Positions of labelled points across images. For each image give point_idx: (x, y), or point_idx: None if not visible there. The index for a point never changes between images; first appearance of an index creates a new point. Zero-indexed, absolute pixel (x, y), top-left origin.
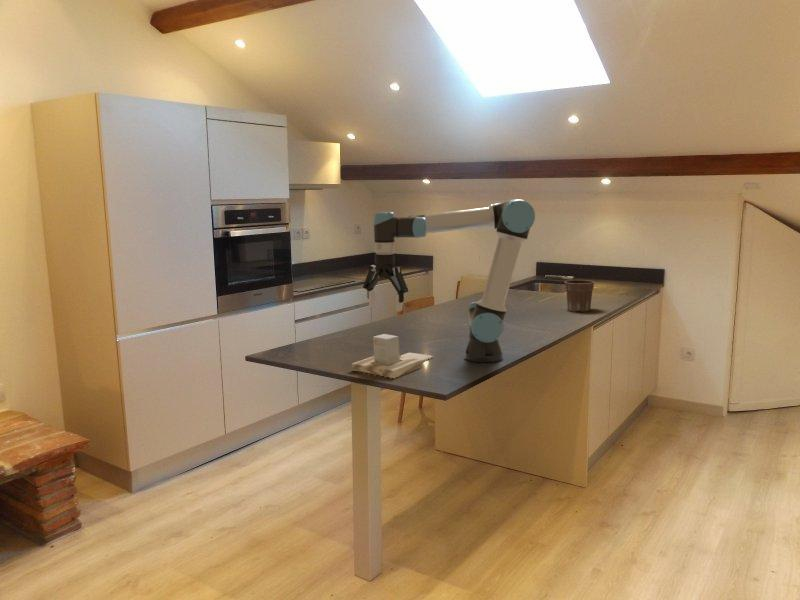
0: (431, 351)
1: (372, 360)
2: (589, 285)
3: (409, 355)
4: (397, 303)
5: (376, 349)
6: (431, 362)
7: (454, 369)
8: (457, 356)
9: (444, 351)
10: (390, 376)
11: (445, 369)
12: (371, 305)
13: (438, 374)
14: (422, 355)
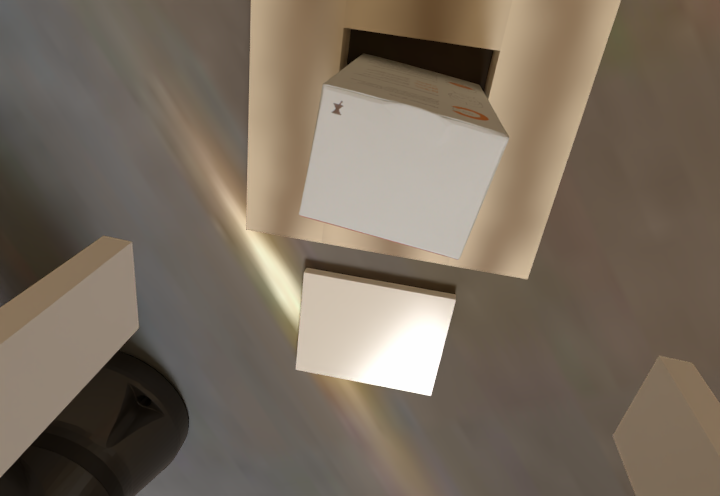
0: (358, 445)
1: (509, 118)
2: None
3: (403, 351)
4: (14, 304)
5: (462, 101)
6: (264, 299)
7: (110, 229)
8: (219, 404)
9: (307, 454)
10: None
11: (142, 216)
12: (659, 403)
13: (117, 127)
14: (344, 365)
